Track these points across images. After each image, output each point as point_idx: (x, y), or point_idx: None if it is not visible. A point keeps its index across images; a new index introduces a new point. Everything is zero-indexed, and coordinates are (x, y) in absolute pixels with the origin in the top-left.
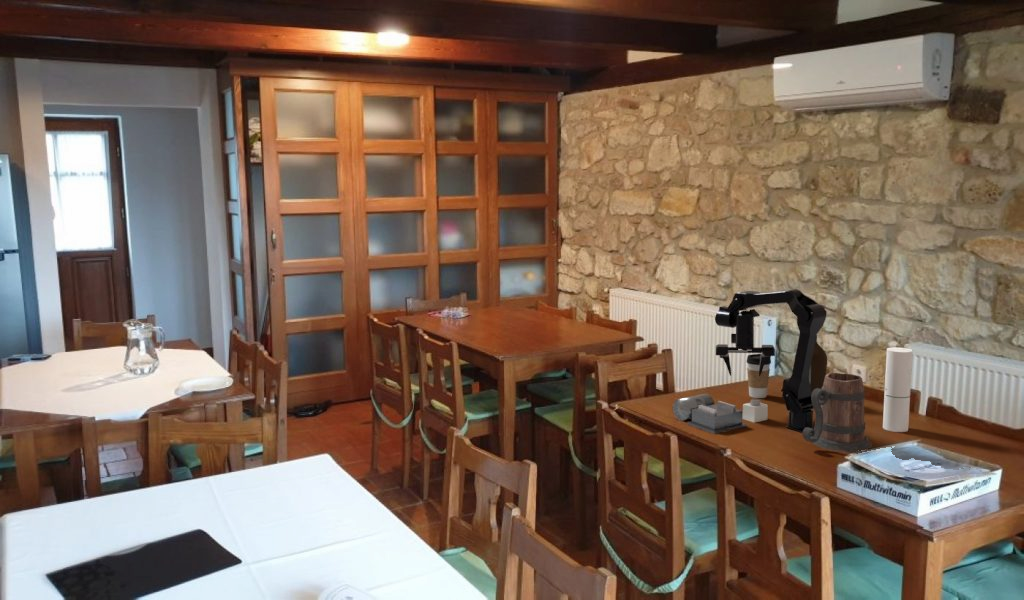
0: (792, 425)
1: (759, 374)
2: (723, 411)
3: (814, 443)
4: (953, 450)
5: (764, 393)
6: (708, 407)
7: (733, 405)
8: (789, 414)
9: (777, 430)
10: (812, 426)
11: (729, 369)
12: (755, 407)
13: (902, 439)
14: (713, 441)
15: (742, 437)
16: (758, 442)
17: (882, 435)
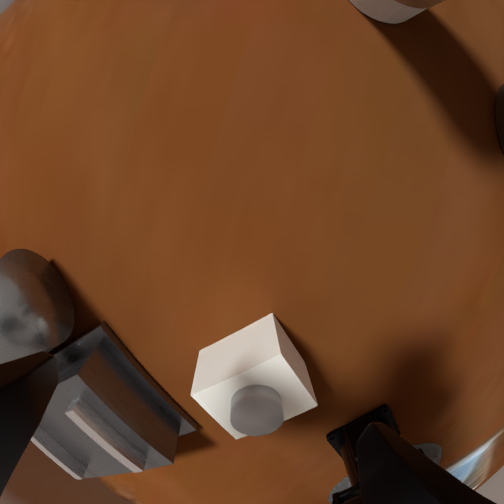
0: (340, 449)
1: (363, 461)
2: (103, 455)
3: (329, 498)
4: (496, 455)
5: (410, 16)
6: (52, 455)
7: (133, 467)
8: (352, 455)
9: (288, 450)
10: (398, 430)
11: (14, 440)
12: (241, 436)
13: (488, 437)
14: (104, 477)
15: (171, 478)
16: (205, 497)
17: (482, 428)
